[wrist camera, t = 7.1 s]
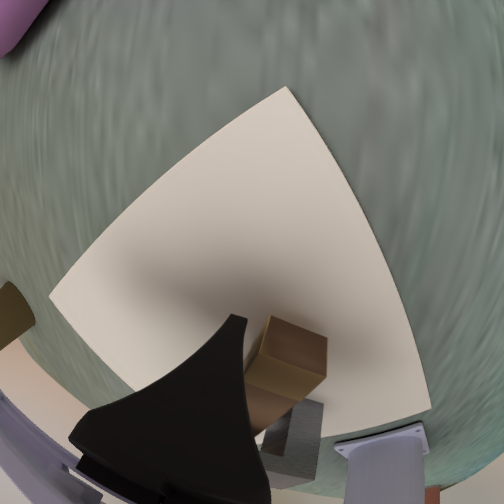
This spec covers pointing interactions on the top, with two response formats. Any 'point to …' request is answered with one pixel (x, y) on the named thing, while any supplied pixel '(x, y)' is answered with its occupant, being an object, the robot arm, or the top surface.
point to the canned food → (432, 494)
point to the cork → (13, 314)
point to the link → (282, 370)
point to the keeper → (293, 445)
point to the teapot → (16, 21)
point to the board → (251, 269)
